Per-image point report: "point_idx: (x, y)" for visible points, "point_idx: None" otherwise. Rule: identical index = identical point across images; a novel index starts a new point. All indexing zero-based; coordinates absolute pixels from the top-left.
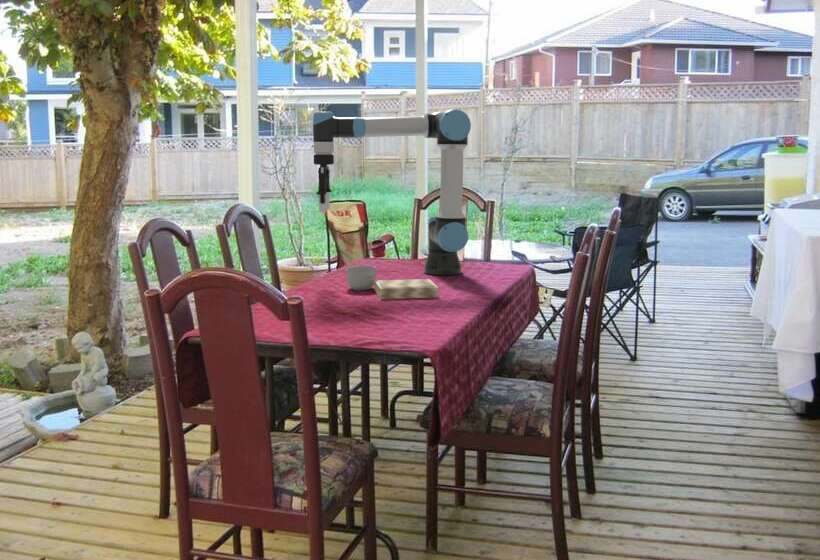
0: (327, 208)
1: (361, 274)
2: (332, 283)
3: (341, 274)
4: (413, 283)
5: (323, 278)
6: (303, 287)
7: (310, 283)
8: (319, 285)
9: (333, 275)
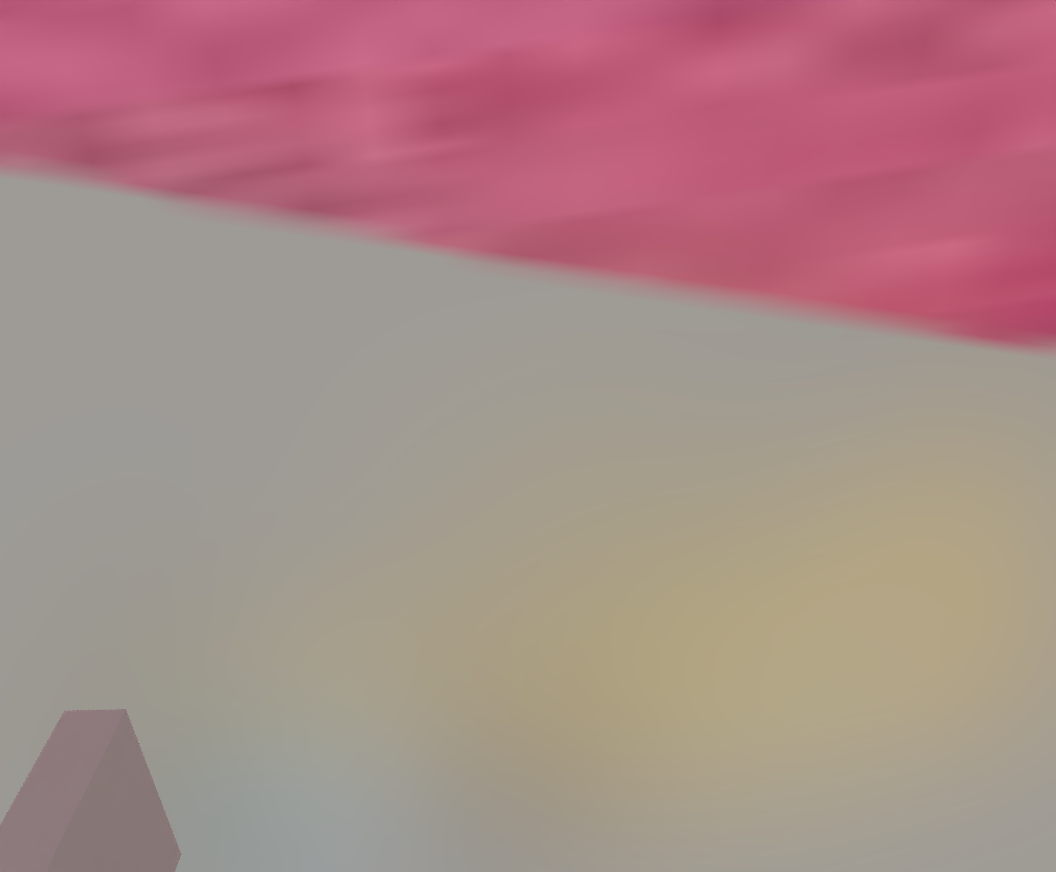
0: (131, 782)
1: None
2: (717, 61)
3: (59, 45)
4: None
5: (380, 210)
6: (940, 319)
7: (705, 291)
8: (839, 184)
9: (155, 131)
